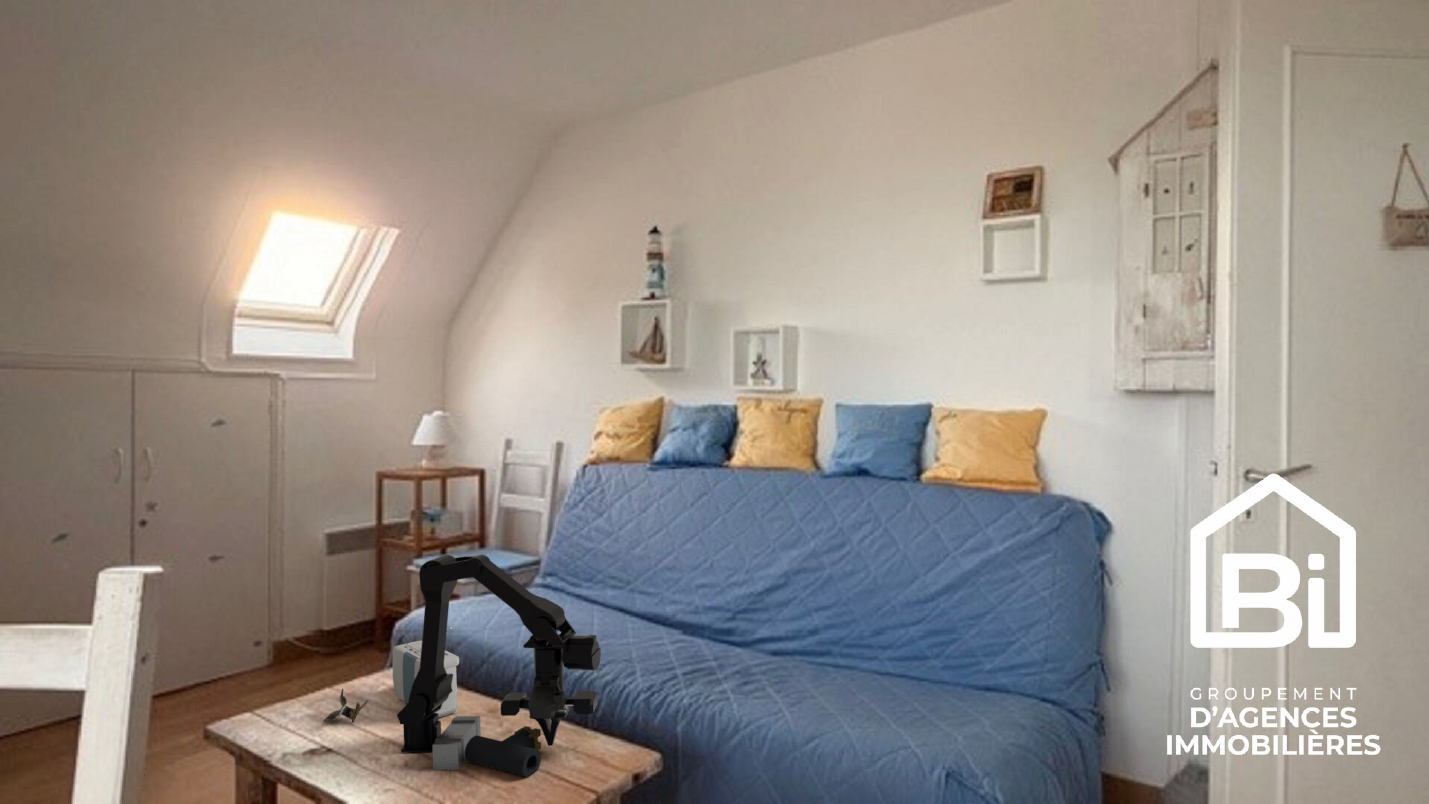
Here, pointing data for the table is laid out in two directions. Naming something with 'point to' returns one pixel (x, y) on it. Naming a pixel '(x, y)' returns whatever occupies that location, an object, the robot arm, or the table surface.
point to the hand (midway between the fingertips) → (550, 745)
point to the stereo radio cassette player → (408, 667)
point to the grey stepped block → (455, 742)
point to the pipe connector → (507, 752)
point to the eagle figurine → (346, 709)
